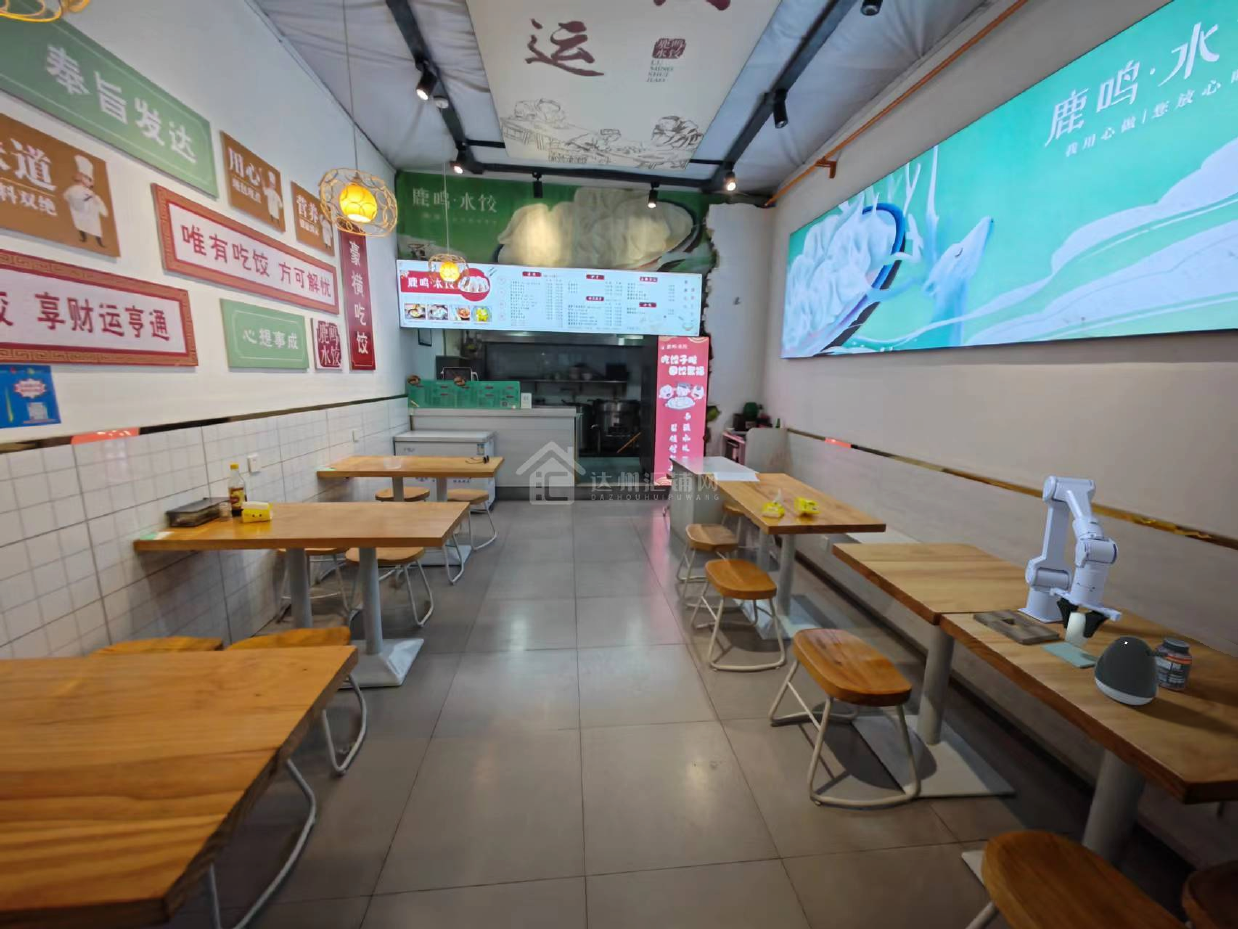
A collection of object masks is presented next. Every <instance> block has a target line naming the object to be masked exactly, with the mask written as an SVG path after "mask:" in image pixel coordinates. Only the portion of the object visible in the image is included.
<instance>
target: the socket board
mask: <svg viewBox="0 0 1238 929" xmlns="http://www.w3.org/2000/svg"><path fill="white" fill-rule="evenodd" d="M972 619H973V620H974V621H977V622H979V623H980V624H983V626H986V627H988V628H989V629H992V630H993V631H996V632H997V633H999V634H1001V635H1003V636H1005V637H1006V638H1008V639H1011V640H1013V641H1014V642H1017V643H1018V644H1020V645H1026V644H1031V643H1038V642H1044V641H1045V642H1046V641H1049V640H1056V639H1057V640H1058V639H1059V638H1060V637H1061V636H1060V635H1061V632H1060V633H1059V632H1057V631H1056V630H1053V629H1052V628H1049V627H1047V626H1045V625H1043V624H1041V623H1039V622H1036V621H1035V620H1032V619H1031V618H1028V617H1026V616H1024V615H1022V614H1020V613H1018V612H1016V611H1013V610H1011V609H1002V610H996V611H994V610H993V611H988V612H981V613H980V612H979V613H973V617H972ZM1011 624H1014V625H1016V626H1018V627H1020V628H1017V627H1014V626H1013V625H1011Z"/></svg>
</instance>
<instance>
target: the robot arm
mask: <svg viewBox="0 0 1238 929" xmlns="http://www.w3.org/2000/svg"><path fill="white" fill-rule="evenodd" d="M1043 484H1044V485H1043V491H1042V501H1043V502H1044V503H1046V504H1048V506H1047V507H1048V508H1047V509H1048V512H1047V516H1046V525H1045V533H1044V538H1043V543H1042V544H1043V545H1042V553H1041V555H1040V556H1037V557H1035V558H1033V559H1030V560H1029V561H1028V565H1027V567H1026V569H1025V573H1024V574H1025V577H1024V578H1025V579H1024V580H1025V581H1026V583H1027V585H1028V586H1030V587H1029V592H1028V597H1027V601H1026V602H1027V603H1026V606H1025V607H1022V608H1018V610H1017V611H1019V612H1021V613H1023V614H1025V615H1027V616H1029V617H1031V618H1034V619H1036V620H1038V621H1040V622H1042V623H1045V624H1047V623H1053V622H1060V621H1062V627H1063V629H1065V630H1067V627H1068V622H1069V618H1070V613H1071V611H1079V608H1080V607H1081V608H1084V609H1086V610H1089V611H1087V612H1084V613H1085V620H1086V622H1085V629H1084V633H1083V637H1085V638H1087V639H1089V638H1090V639H1091V638H1093V636H1094V634H1095V633H1096V631H1097V630H1098V629H1099V628H1100V626H1102V625H1103V624H1104V623H1105V622H1106V621H1107V620H1109V619H1110V621H1113V622H1120V621H1121V620H1122V616H1123V613H1122V612H1120V611H1118V610H1115V609H1113V608H1111V607H1109V606H1107V605H1105V604H1104V603H1102V598H1103V594H1104V591H1105V590H1104V589H1105V586H1106V585H1105V584H1106V580H1107V578H1108V574H1109V569H1110V565H1114V564H1115V563H1116V561H1117V560H1118V557H1119V549H1118V546H1117V543H1116V541H1113V540H1112V538H1109V537H1108V536H1107V533H1106V531H1105V527H1104V526H1103V523H1102V521H1101V520H1100V519H1099V518H1097V517H1095V516H1094V512H1093V508H1092V500H1093V499H1094V497H1095V495H1096V492H1097V491H1096V490H1097V487H1096V483H1095V482H1094V481H1093V479H1091V478H1090V479H1089V478H1087V479H1086V478H1085V479H1084V478H1075V477H1074V478H1073V477H1072V478H1071V477H1063V476H1055V475H1050V476H1049V477H1048V478H1046V480H1045V482H1044V483H1043ZM1071 513H1072V515H1073V517H1074V520H1073V521H1072V523H1071V525H1072V529H1073V531H1074V532H1073V533H1074V535H1075V538H1076V544H1075V549H1074V550H1075V552H1074V553H1075V560H1074V564H1075V566H1076V567H1075V570H1074V569H1073V568H1072V567H1071V565H1069V564H1068V563H1067V562H1066V561H1064V555H1065V549H1066V544H1067V543H1066V541H1067V537H1068V536H1067V535H1068V528H1069V520H1070V515H1071ZM1073 570H1074V571H1075V572H1074V575H1073ZM1073 576H1074V577H1073Z"/></svg>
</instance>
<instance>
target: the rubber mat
mask: <svg viewBox="0 0 1238 929" xmlns="http://www.w3.org/2000/svg"><path fill="white" fill-rule="evenodd" d="M1040 649H1042V650H1043V651H1046V652H1048V653H1050V654H1052V655H1053V656H1056V657H1057V658H1060V659H1061V660H1063V661H1066V662H1067V663H1069V664H1071V665H1073V666H1076V667H1077V668H1079V669H1081V668H1086V667H1090V666H1096V663H1097V661H1098V659H1099V658H1100V657H1098V656H1097V655H1094V654H1091V653H1089V652H1087V651H1085V650H1084V649H1081V648H1079V647H1078V646H1076V645H1073V644H1070V643H1068V642H1067V641H1064V642H1056V643H1050V644H1045V645H1041V646H1040Z"/></svg>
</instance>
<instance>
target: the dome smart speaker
mask: <svg viewBox="0 0 1238 929" xmlns="http://www.w3.org/2000/svg"><path fill="white" fill-rule="evenodd" d="M1168 656H1169V655H1168V653H1167V652H1162V651H1155V649H1152V648H1151V647H1150V645H1149V643H1148V642H1147V641H1145V640H1143V639H1142V638H1140V637H1138V636H1135V635H1124V636H1123V635H1122V636H1120V637H1118V638H1116V639H1115V640H1113V641H1112V642H1111V643H1110V644H1109V645H1108V646H1107V647H1106V648H1105V649H1104V650H1103V651H1102V653H1101V655H1100V656H1099V657H1098V658H1099V659H1098V661H1097V663H1096V665H1094V669H1093V672H1092V673H1093V676H1094V679H1095V680H1094V681H1095V683H1096V685H1097V687H1098V688H1099V689H1100V691H1101V692H1102V693H1103V694H1105V695H1106V696H1108V697H1110V699H1113V700H1114V701H1116V702H1117V701H1118V702H1119V703H1123V704H1127V705H1132V706H1139V705H1140V706H1141V705H1147V703H1150V702H1151V701H1152V700H1153V699H1154V698H1156V697H1157V695H1158V693H1159V687H1160V686H1159V673H1158V667H1157V662H1156V659H1155V657H1168Z"/></svg>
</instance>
